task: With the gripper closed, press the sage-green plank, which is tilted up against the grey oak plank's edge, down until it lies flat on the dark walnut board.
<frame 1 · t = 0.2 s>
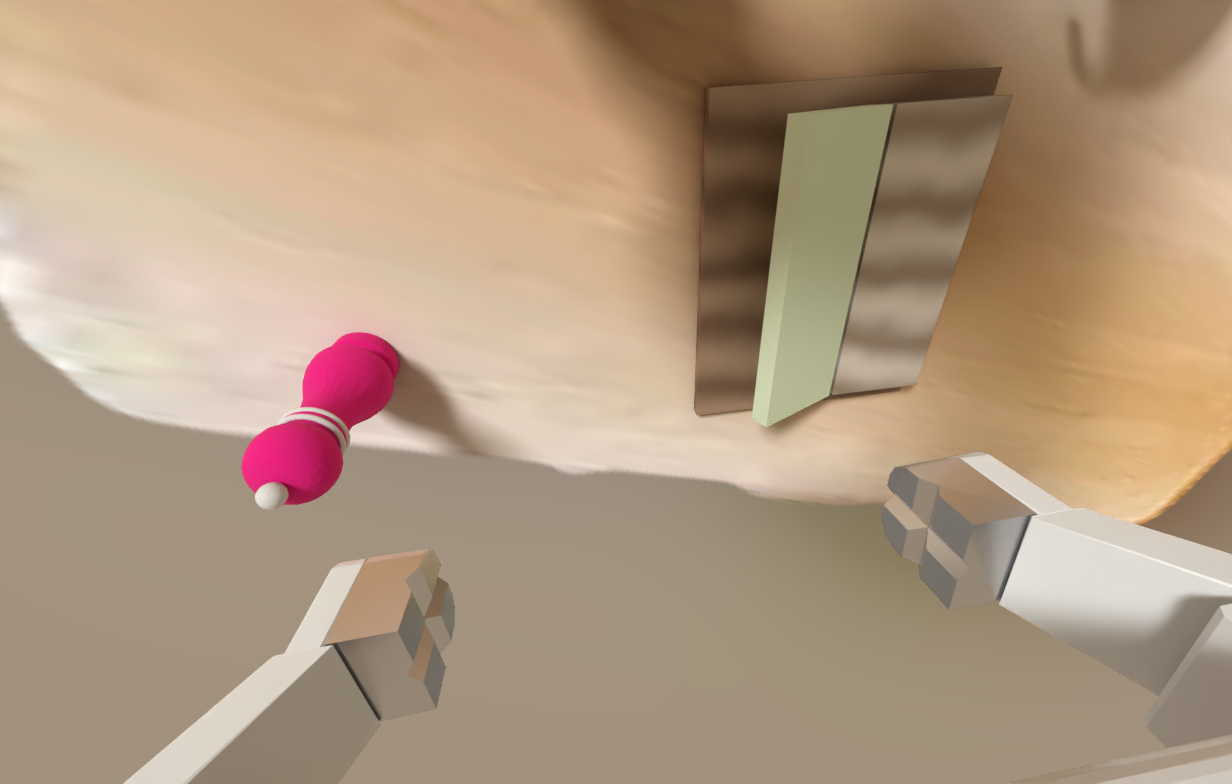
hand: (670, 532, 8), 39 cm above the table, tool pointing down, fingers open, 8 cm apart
pepper mill: (367, 359, 47), on the table
floor board: (818, 266, 48), on the table
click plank: (812, 283, 44), point 4 cm above the table, hinge at 25.0°
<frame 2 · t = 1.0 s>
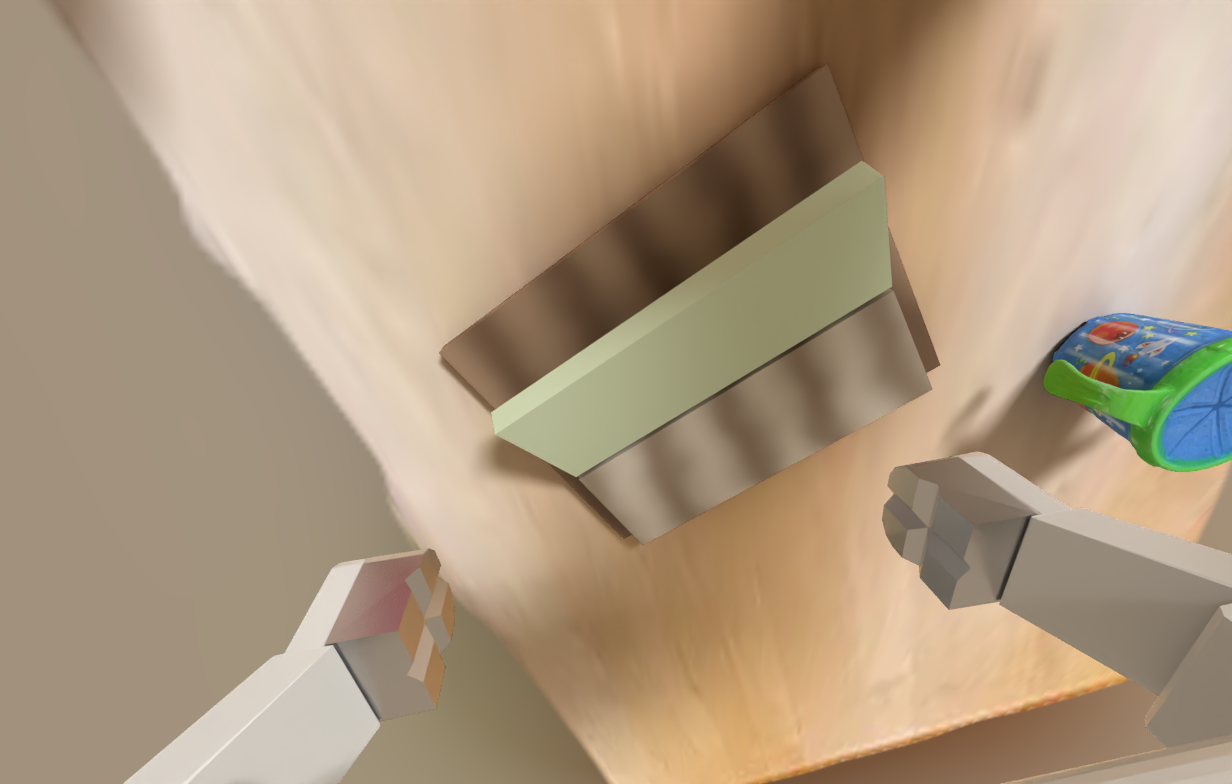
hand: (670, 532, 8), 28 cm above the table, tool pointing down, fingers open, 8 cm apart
floor board: (697, 353, 38), on the table
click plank: (691, 349, 33), point 4 cm above the table, hinge at 25.0°
snack cup: (1088, 350, 41), on the table
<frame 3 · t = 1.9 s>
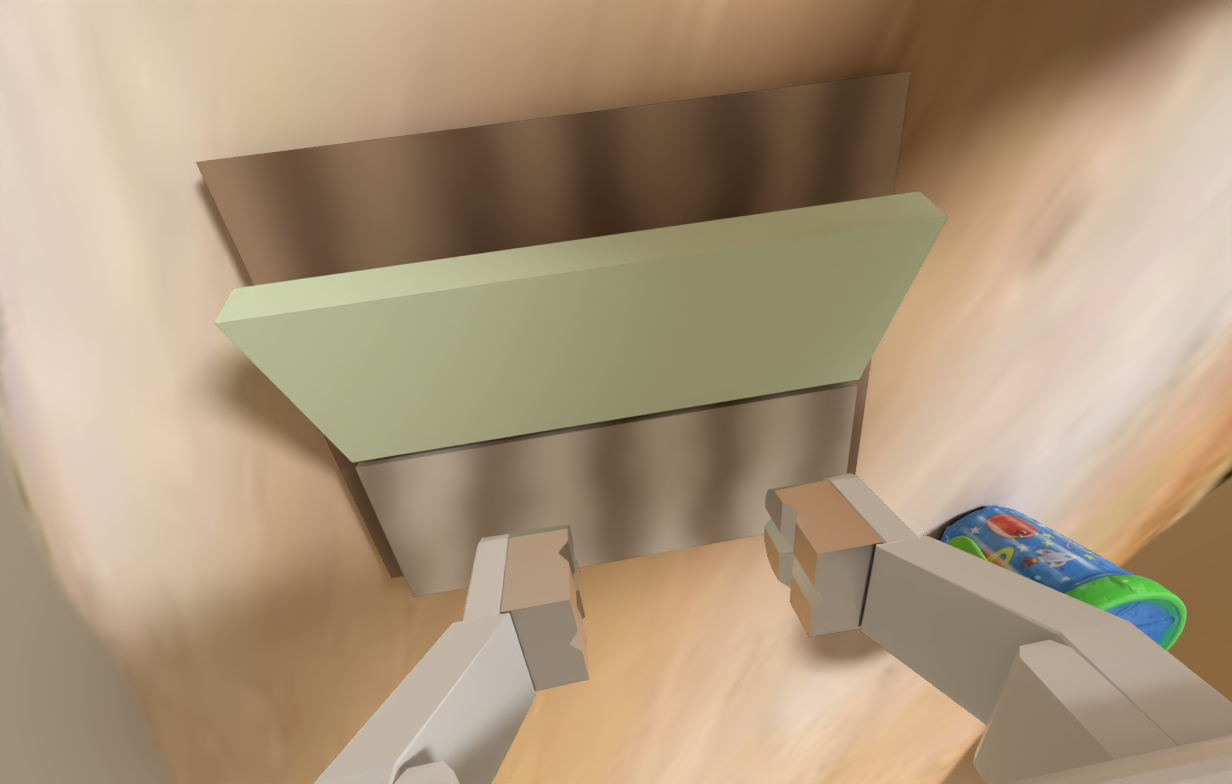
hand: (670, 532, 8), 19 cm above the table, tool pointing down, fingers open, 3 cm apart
floor board: (602, 362, 27), on the table
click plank: (603, 342, 22), point 4 cm above the table, hinge at 25.0°
snack cup: (971, 536, 38), on the table
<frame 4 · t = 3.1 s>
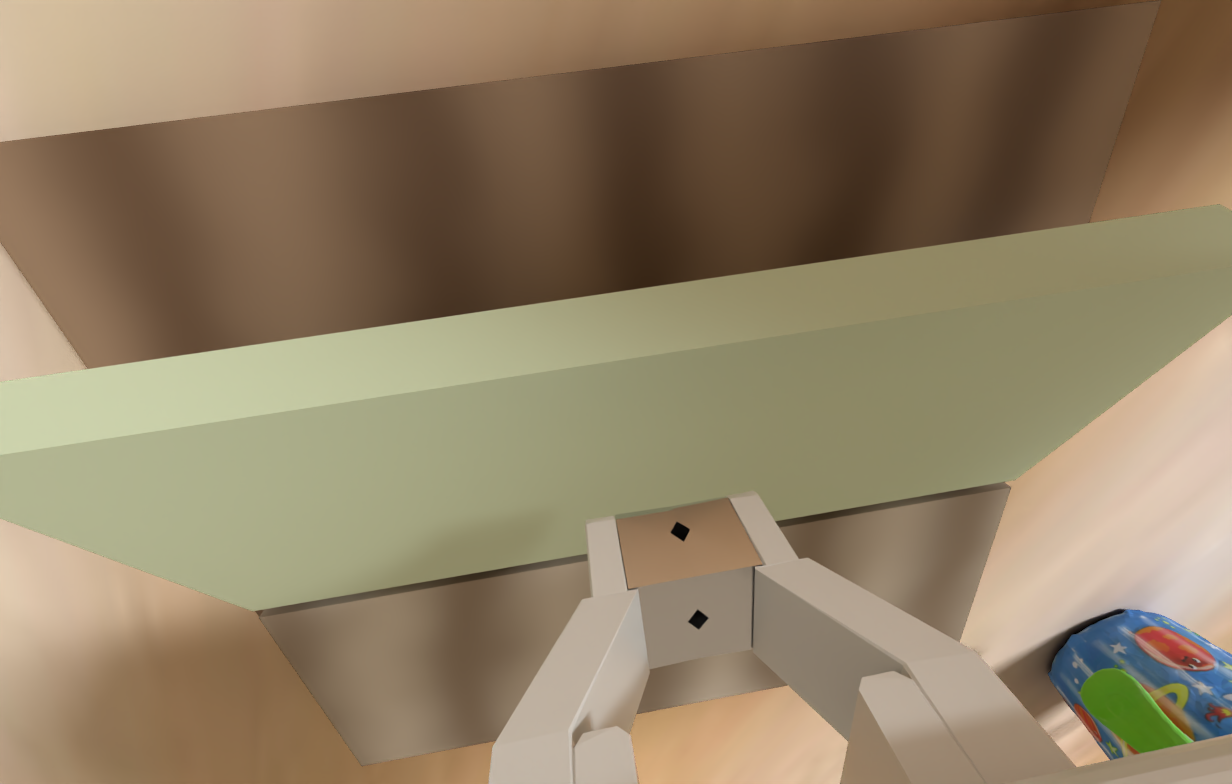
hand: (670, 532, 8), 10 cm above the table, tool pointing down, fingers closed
floor board: (630, 445, 19), on the table
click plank: (641, 447, 14), point 4 cm above the table, hinge at 25.0°
snack cup: (1097, 642, 30), on the table
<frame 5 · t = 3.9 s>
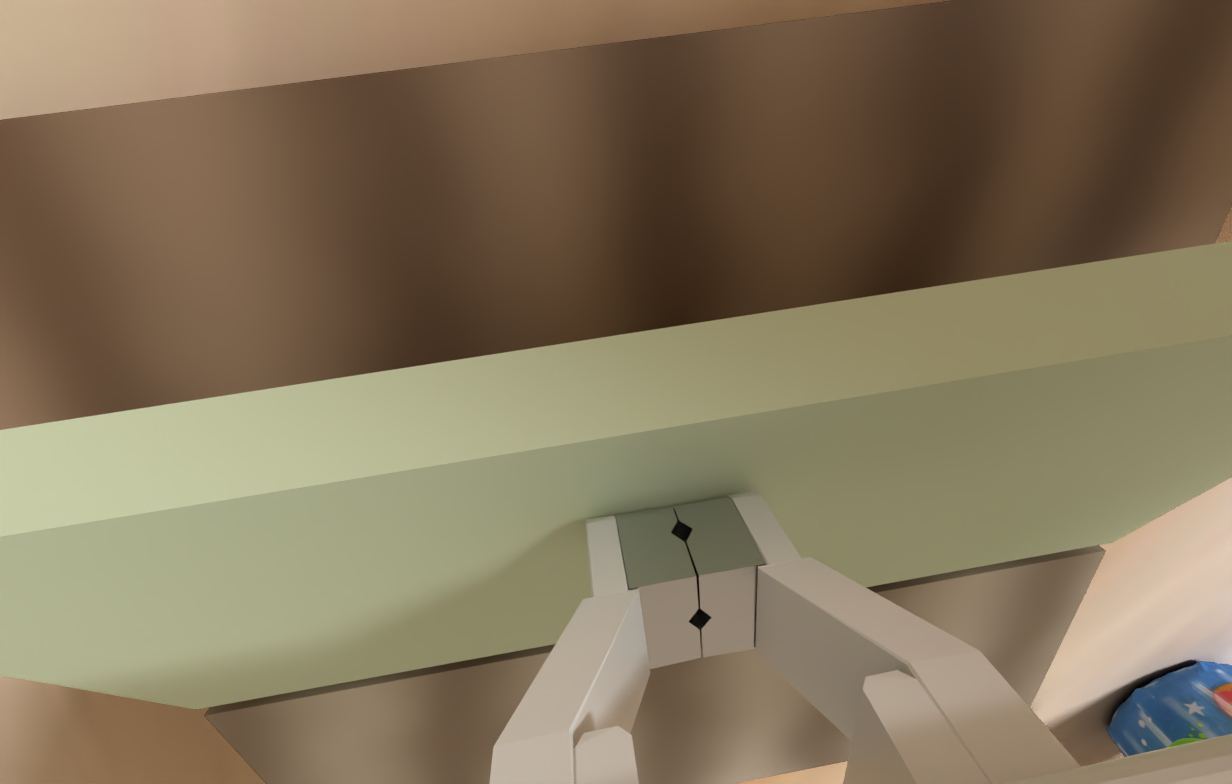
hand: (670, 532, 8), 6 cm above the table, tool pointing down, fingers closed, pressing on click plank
floor board: (649, 498, 16), on the table
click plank: (670, 517, 11), point 4 cm above the table, hinge at 22.4°, touching gripper
snack cup: (1161, 693, 27), on the table
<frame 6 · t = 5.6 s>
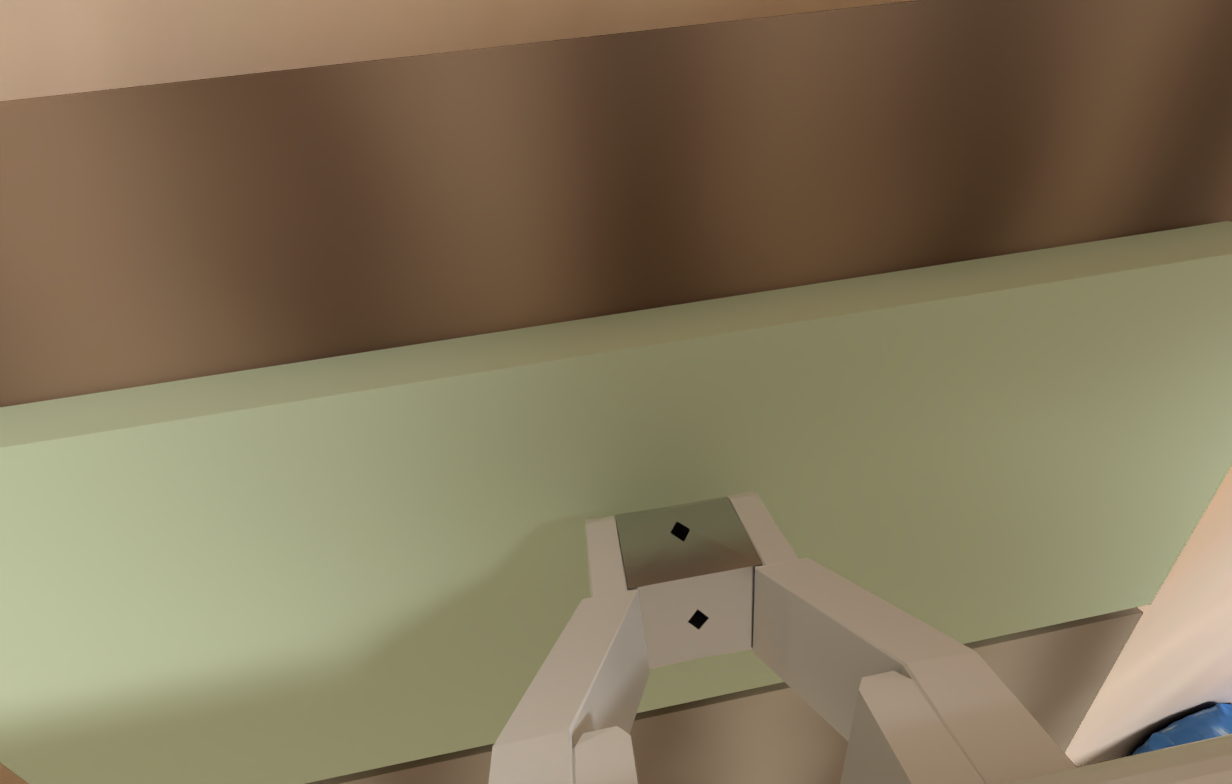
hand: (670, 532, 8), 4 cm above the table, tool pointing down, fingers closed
floor board: (633, 555, 14), on the table
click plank: (637, 536, 11), point 2 cm above the table, hinge at 0.4°
snack cup: (1177, 735, 25), on the table
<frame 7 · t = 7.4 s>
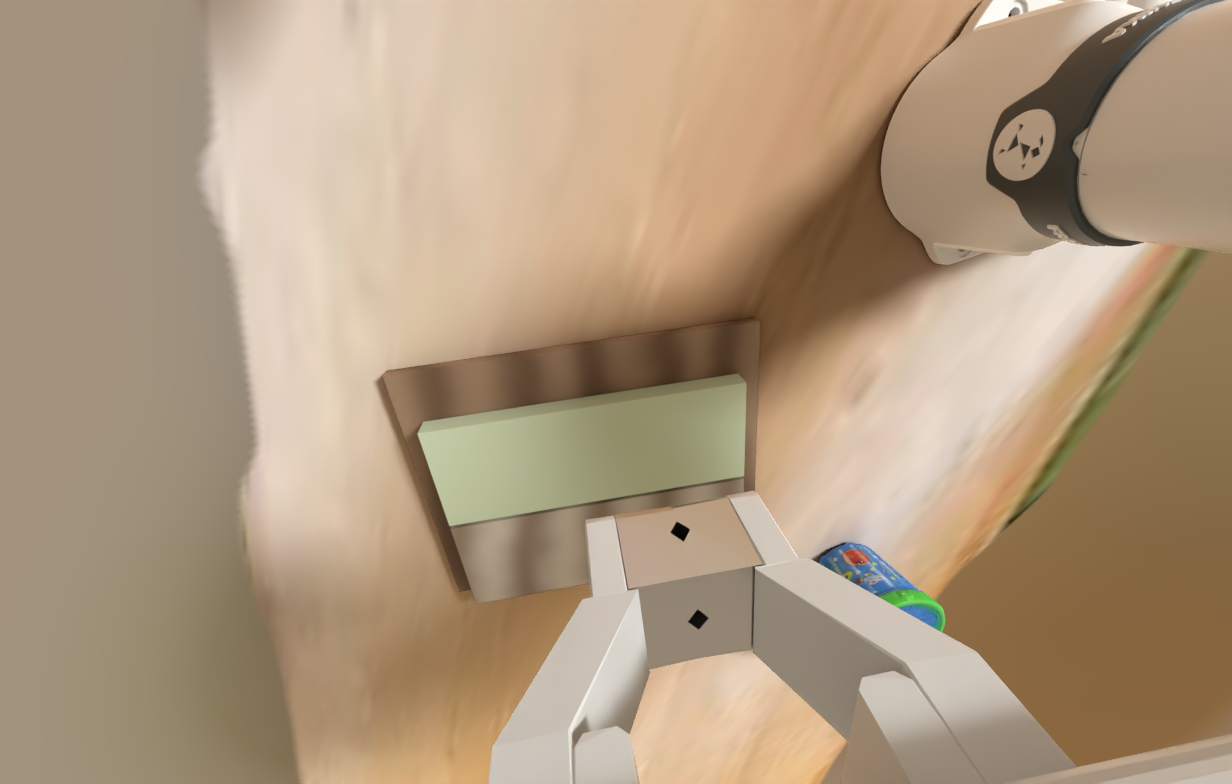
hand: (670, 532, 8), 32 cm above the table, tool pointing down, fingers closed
floor board: (594, 462, 46), on the table
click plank: (592, 450, 42), point 2 cm above the table, hinge at 0.4°
snack cup: (840, 562, 57), on the table
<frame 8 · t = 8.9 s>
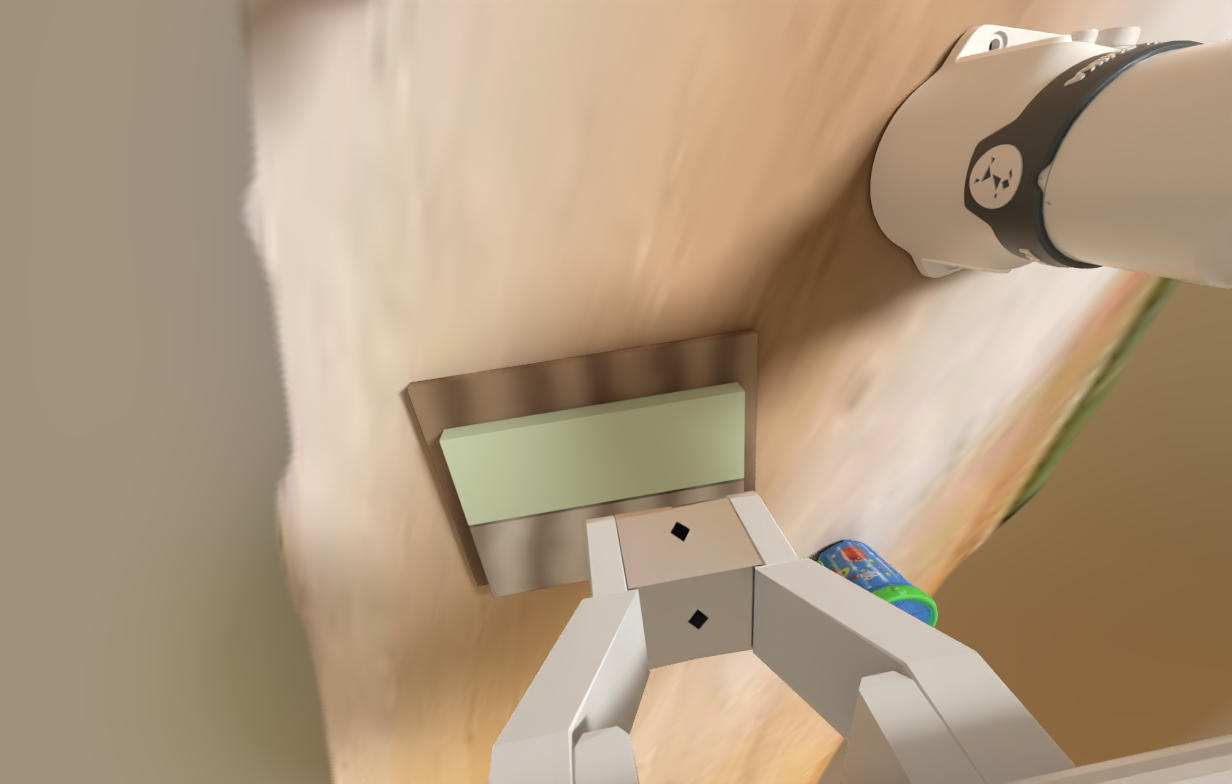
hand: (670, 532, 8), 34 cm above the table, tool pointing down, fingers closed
floor board: (602, 465, 49), on the table
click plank: (601, 454, 45), point 2 cm above the table, hinge at 0.4°
snack cup: (839, 558, 60), on the table
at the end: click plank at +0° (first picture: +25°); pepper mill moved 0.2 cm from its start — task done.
